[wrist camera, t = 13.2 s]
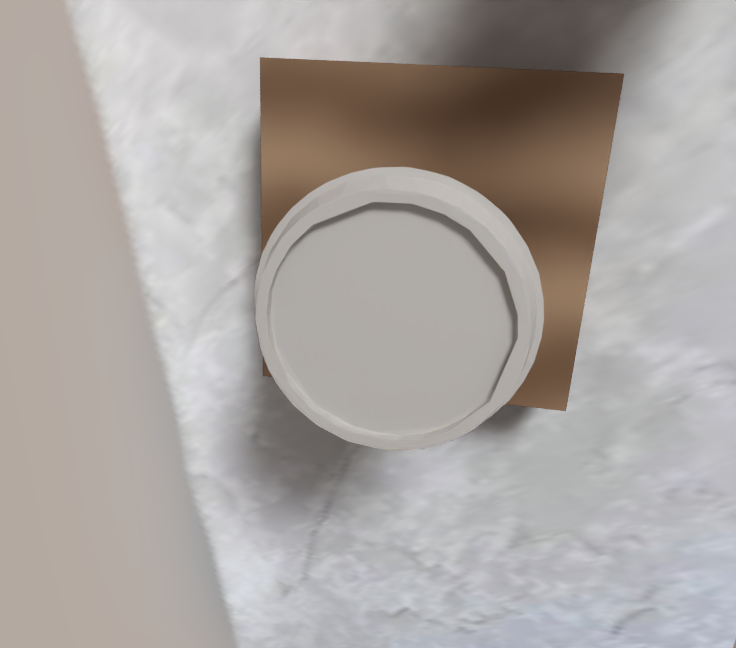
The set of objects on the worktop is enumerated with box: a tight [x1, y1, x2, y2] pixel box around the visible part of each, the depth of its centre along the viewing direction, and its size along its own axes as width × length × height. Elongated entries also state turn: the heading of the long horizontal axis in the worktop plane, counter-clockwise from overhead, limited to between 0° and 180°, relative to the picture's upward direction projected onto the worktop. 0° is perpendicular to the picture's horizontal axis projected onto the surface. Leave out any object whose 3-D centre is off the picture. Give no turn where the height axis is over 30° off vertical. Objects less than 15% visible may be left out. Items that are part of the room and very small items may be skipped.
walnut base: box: [260, 58, 624, 411], centre depth 33 cm, size 16×16×5 cm
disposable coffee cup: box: [254, 167, 544, 450], centre depth 25 cm, size 10×10×12 cm
